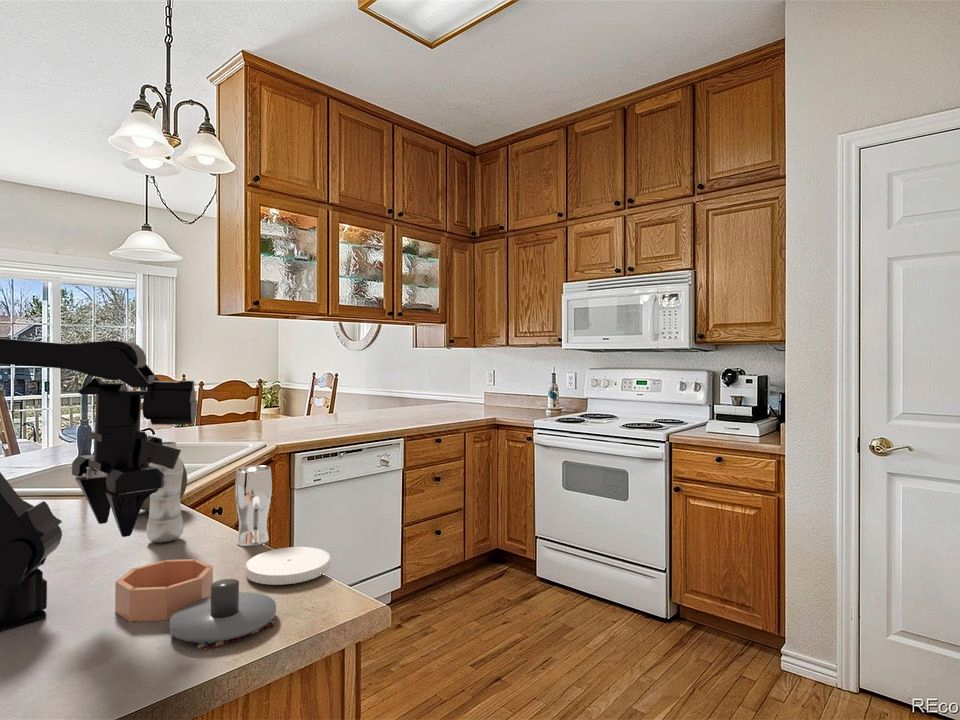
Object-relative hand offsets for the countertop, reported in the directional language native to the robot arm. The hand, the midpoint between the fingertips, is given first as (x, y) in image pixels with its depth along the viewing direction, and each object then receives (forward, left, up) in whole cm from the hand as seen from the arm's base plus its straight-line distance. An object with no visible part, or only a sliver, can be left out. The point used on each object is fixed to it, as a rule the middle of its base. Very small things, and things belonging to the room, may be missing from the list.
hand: (114, 529), depth 84 cm
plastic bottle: (+19, +26, -12) cm, 34 cm away
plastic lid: (+25, -8, -12) cm, 29 cm away
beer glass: (+30, +12, -12) cm, 34 cm away
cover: (+8, -18, -11) cm, 22 cm away
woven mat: (+8, -18, -13) cm, 23 cm away
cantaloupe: (+27, +50, -12) cm, 58 cm away
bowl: (+6, -4, -12) cm, 14 cm away
